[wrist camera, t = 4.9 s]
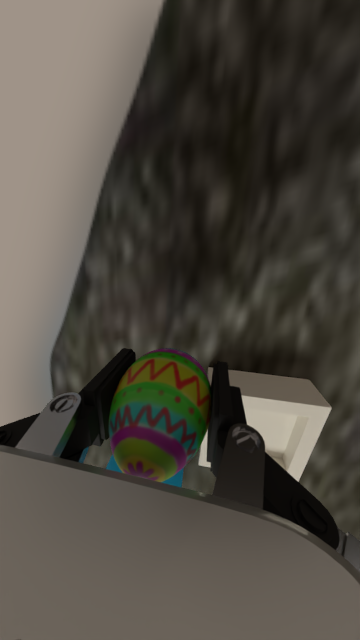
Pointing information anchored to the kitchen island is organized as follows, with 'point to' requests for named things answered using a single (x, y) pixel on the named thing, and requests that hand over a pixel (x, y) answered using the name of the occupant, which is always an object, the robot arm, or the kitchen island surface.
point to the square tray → (279, 416)
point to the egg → (159, 414)
